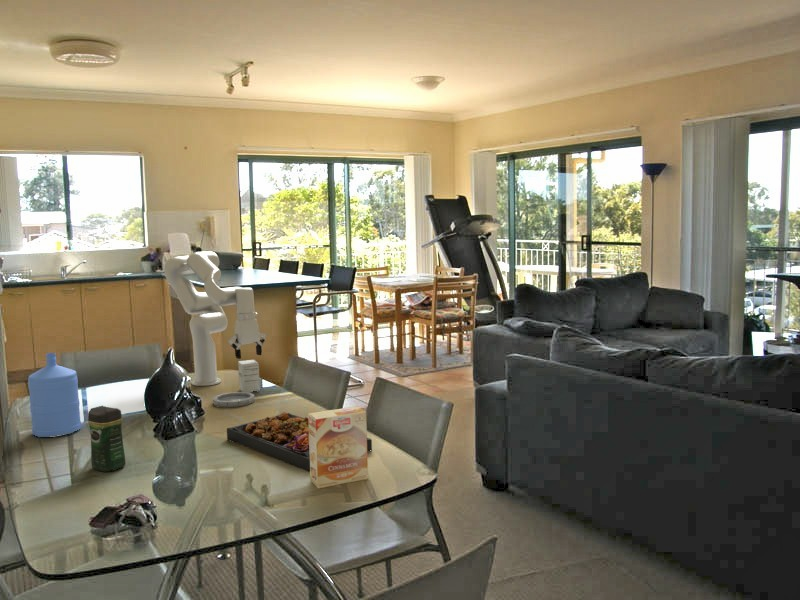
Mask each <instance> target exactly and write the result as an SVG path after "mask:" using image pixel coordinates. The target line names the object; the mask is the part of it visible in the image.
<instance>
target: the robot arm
mask: <svg viewBox="0 0 800 600" xmlns="http://www.w3.org/2000/svg"><path fill="white" fill-rule="evenodd" d="M219 266H220V258H219V256H218V254H217V253H216V252H214V251H211V250H207V251H195V252H192V253H190V254H189V255H177V256H172V257H170V258H168V259H167V260H166V261H165V263H164V267H163V271H164V276H165V279H166V281H167V283H168V284H169V285H170V287H171V288H172V290H173V291H174V292H175V294H176V296H177V298H178V300H179V302H180V304H181V305H182V308H183V310H184V312H185V313H187V314H188V315H192V317H191V319H190V321H189V330H190V333H191V339H192V349H193V365H194V380H192V381H191V385H192V386H195V387H207V386H214V385H217V384H220V383H221V381H222V379H221V378H219V377H218V371H217V370H218V369H217V368H218V367H217V352H216V343H215V340H214V339H213V337H212V334H215V333H221V332H223V331H225V330H226V329H227V327H228V322H229V321H228V318H227V315H226V312H225V311H224V309H223V307H225V306H233V305H235V307H236V320H235V321H234V329H233V331H234V335H233V336H231V337H230V338H229V339H228V340H227V341H228V343H229V345H230V346H231V347H232V348H233V349H234V354H235V355H234V356H235V358H236V359H239V360H241V359H242V352H241V349H240V348H241V347H242V345H248V344H254V343H255V344H256V346H255V350H256V353H255V354H256V355H257V356H262V352H263V349H262V346H263V344H264V343H265V342H266V341H265V340H266V337H267V334H265V333H263V332H260V327H259V323H258V319H257V318H256V317H257V316H258V315H259V313H257V312H256V310H255V297H254V295H255V294H254V289H253V288H252V287H242V286H230V287H223V288H221V287H220V286H218V285H217V284H216V283H217V282H219V280H220V279H221V277H222V272H221V269H220V268H218V267H219ZM192 274H196V276H198V277H199V279H201V280H202V282H203V283H204V284H203V287H204V291H202V292H201V291H197V289H196V287H195V286H194V283H192V281H191V280H190V279H188V278H187V277H186V276H184V275H192ZM193 315H194V316H193Z"/></svg>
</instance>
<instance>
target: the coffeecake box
mask: <svg viewBox="0 0 800 600" xmlns="http://www.w3.org/2000/svg"><path fill="white" fill-rule="evenodd" d="M307 415H308V416H307V418H308V424H309V452H310V472H309V474H310V477H309V478H310V482H312V484H313V485H314V486H315V487H316V488H317V489H324V488H327V487H332V486H337V485H344V484H348V483H354V482H358V481H364V480H368V479H369V476H368V475H369V473H368V472H369V467H368V466H369V465H368V463H369V462H368V452H367V438H368V436H367V435H368V434H367V433H368V430H367V429H368V426H367V411H365V410H364V409H362V408H361V407H360V406H357V405H356V406H352V407H344V408H338V409H337V408H335V409H330V410H329V409H328V410H323V411H316V412H315V411H314V412H309V413H307Z"/></svg>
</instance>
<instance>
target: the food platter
mask: <svg viewBox="0 0 800 600" xmlns="http://www.w3.org/2000/svg"><path fill="white" fill-rule="evenodd" d="M226 439H228V440H227V441H230V440H231V441H230V442H232V441H233V443H235V444H237V443H238V444H237V445H240V446H242V445H243V447H245V448H247V447H248V448H247V449H250V450H253V451H256V452H258V453H260V454H262V455H266V456H268V457H271V458H272V459H275V460H278V461H280V462H282V463H284V464H288V465H290V466H293V467H295V468H299V469H301V470H303V471H305V472H308V473H310V452H309V424H308V416H305V417H301V416H298V415H295V414H292V413H289V412H286V411H283V412H282V413H280V414H277V415H275V416H274V415H273V416H270V417H269V416H267V417H264V418H262V419H258V420H254V421H251V422H247V423H242V424H238V425H235V426H231V427H227V428H226ZM370 450H372V451H373V441H372V438H369V437H367V453H369V452H368V451H370ZM370 452H371V451H370Z"/></svg>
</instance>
